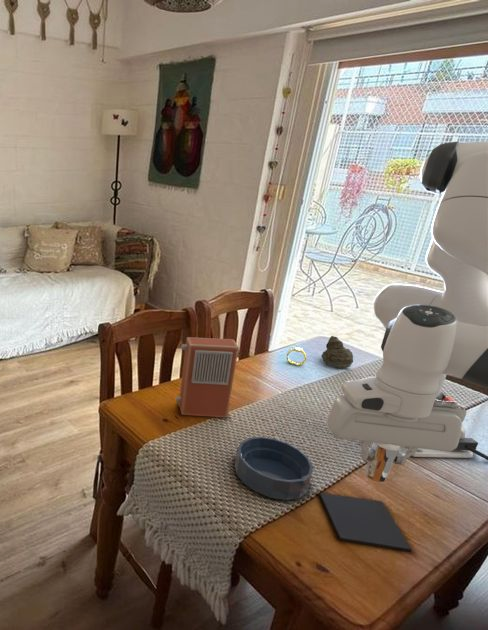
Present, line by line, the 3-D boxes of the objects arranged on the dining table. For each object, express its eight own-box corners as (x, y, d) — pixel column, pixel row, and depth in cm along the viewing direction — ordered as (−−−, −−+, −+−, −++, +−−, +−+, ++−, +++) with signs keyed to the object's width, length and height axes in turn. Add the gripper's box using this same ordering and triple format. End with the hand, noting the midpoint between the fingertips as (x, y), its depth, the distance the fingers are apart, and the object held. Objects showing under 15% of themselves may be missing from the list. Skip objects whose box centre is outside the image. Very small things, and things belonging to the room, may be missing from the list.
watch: (284, 363, 153) (288, 348, 151) (285, 360, 155) (289, 345, 153) (304, 367, 150) (307, 352, 148) (304, 364, 152) (308, 349, 150)
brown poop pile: (353, 342, 156) (321, 336, 159) (363, 335, 145) (329, 330, 148) (349, 373, 154) (317, 367, 157) (359, 368, 143) (324, 362, 147)
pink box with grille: (174, 403, 128) (226, 406, 126) (177, 416, 121) (232, 420, 120) (181, 335, 120) (237, 338, 119) (185, 345, 114) (244, 349, 112)
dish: (297, 459, 105) (301, 441, 103) (317, 506, 91) (322, 486, 89) (230, 450, 108) (233, 433, 106) (240, 494, 94) (244, 475, 92)
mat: (381, 503, 92) (381, 501, 92) (410, 551, 81) (411, 549, 81) (319, 494, 94) (319, 492, 94) (339, 540, 83) (340, 537, 83)
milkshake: (395, 490, 80) (410, 444, 77) (361, 479, 83) (374, 434, 79) (394, 475, 84) (408, 431, 80) (361, 465, 87) (374, 422, 83)
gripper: (458, 394, 78) (434, 457, 83) (333, 381, 82) (317, 442, 87) (481, 413, 73) (454, 480, 77) (346, 398, 76) (328, 463, 81)
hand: (381, 460), depth 82 cm, fingers closed on milkshake, 4 cm apart
